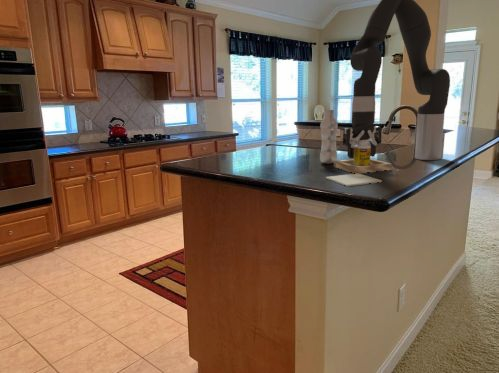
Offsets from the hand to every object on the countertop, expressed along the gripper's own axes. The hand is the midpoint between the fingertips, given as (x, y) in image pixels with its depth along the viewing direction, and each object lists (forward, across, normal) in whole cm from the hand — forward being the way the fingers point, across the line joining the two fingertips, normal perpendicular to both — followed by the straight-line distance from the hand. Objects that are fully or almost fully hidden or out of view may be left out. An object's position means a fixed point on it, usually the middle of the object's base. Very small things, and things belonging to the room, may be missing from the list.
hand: (361, 157), depth 135 cm
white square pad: (+4, +13, +14) cm, 19 cm away
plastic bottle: (+4, +5, -14) cm, 15 cm away
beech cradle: (+4, 0, 0) cm, 4 cm away
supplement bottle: (+4, 0, 0) cm, 4 cm away
